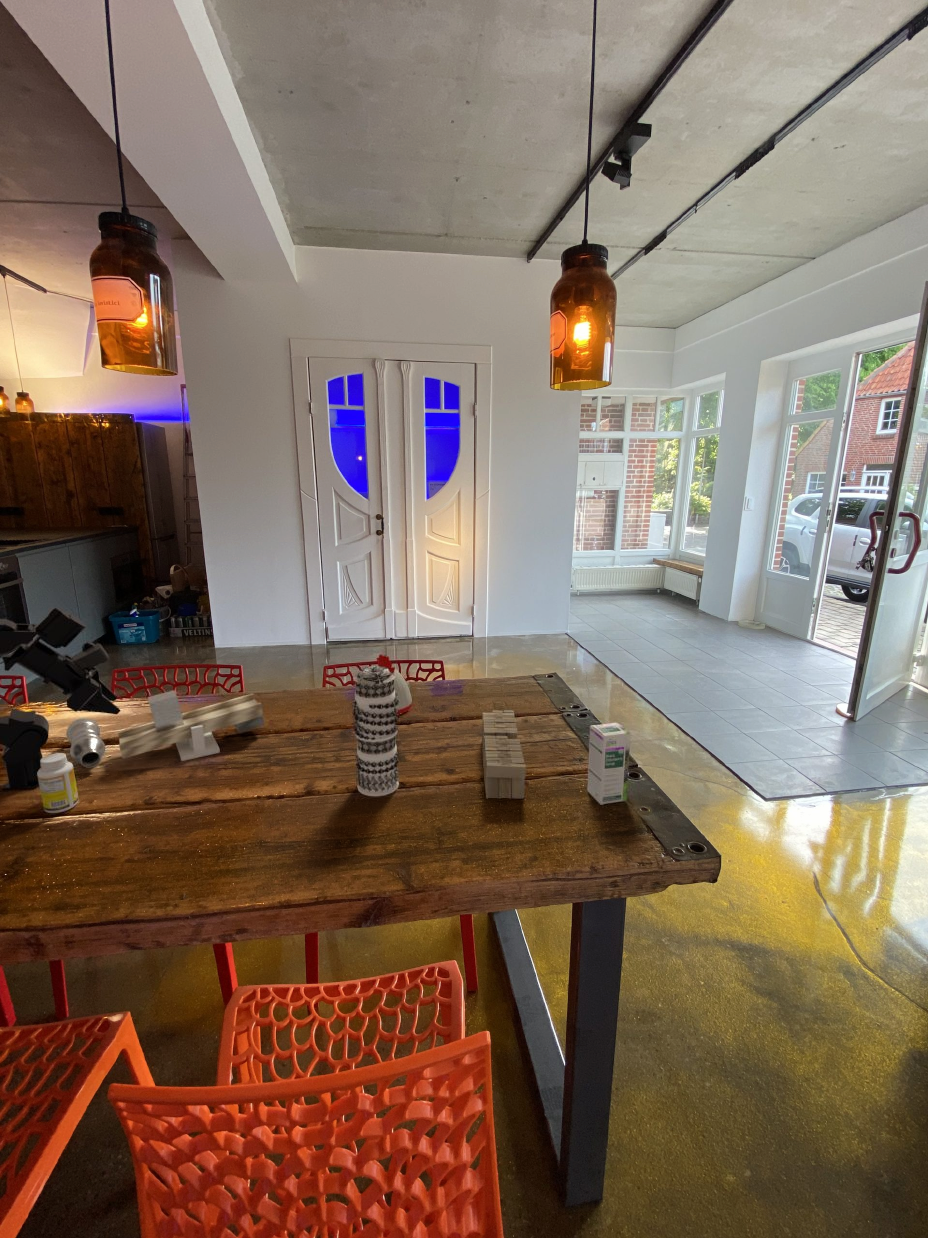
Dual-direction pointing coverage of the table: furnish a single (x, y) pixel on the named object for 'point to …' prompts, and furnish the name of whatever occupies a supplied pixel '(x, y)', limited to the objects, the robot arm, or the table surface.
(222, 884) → the table surface
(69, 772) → the supplement bottle
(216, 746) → the beam stand
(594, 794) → the syrup box
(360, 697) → the white patterned cylinder
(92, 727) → the silver metal bottle
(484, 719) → the block tower
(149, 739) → the balance beam
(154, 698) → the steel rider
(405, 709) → the kitchen timer
